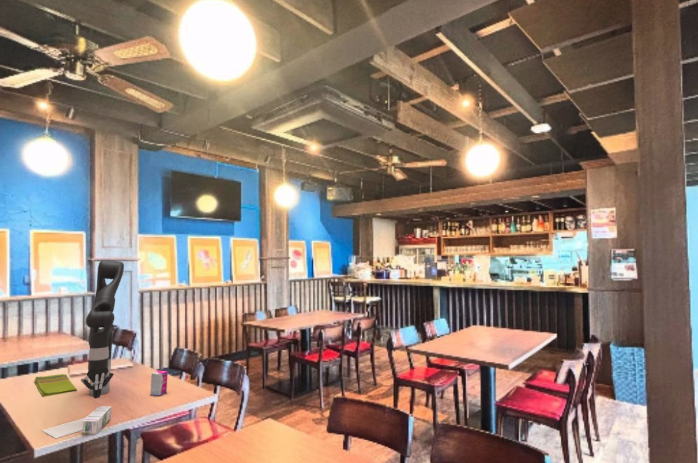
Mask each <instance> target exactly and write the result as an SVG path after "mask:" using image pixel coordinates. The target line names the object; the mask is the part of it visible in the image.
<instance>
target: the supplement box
mask: <svg viewBox="0 0 698 463" xmlns="http://www.w3.org/2000/svg"><path fill="white" fill-rule="evenodd" d="M168 374H169V373H168V370H167V371H166V370H156V371H154V372H151V375H150V376H151V379H150V390H149V392H150V393H149V394H150V396H151V397H160V396H163V395H165V394H167V390H168Z"/></svg>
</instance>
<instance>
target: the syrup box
mask: <svg viewBox="0 0 698 463" xmlns="http://www.w3.org/2000/svg"><path fill="white" fill-rule="evenodd" d="M111 414H112V406H97V407H96V408H95V409H94V410H93V411H92V412H91V413H90V414H89V415H87V416H86V417H84V418H85V419H84V420H83V428H82V431H81V435H97V434H98V433H99V432H100V431H101V430H102V429H103V427H104V426H106V424H107V423H108V422H109V421H111V417H112V415H111Z"/></svg>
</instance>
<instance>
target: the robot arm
mask: <svg viewBox="0 0 698 463" xmlns="http://www.w3.org/2000/svg"><path fill="white" fill-rule="evenodd" d="M124 270H125V264H124V262H123V261H120V260H110V259H101V260H100V261H99V263H98V266H97V274H96V276H97V277H96V288H95V289H96V290H95V296H94V301H93V306H92V308H91V310H90V311H89V312H88V314H87V316H86V319H85V325H86V326H87V327H88V328H90V329H89V335H88V346H89V351H88V359H87V360H88V362H87V373H86V375H85V377H84V378H81V379H80V382H81V383H82V384H83V385H84V386H85V387H87V389H88V391H89V392H88V393H89V395H91V396H92V397H93V399H100V397H101V396H102V395H104V394H108V393H109V392H110V390H111V389H110V388H111V379H112V378H113V376H114V373H112V372H111V369H112V368H111V367H112V348H113V340H114V331H113V329H112V327H113V324H114V321H115V314H114V313H113V312H114V310H115V305H116V293H117V291H118V289H119V286H120V284H121V281H122V278H123V275H124ZM106 280H112V281H110V282H109V283H108V284H107V282H106Z"/></svg>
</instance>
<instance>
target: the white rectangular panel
mask: <svg viewBox="0 0 698 463" xmlns="http://www.w3.org/2000/svg"><path fill="white" fill-rule="evenodd" d="M85 418H86V417H82V418H79V419H76V420H73V421H69V422H65V423H62V424H59V425H55V426H53V427H49V428H45V429H42V430H41V432H43V433H44V434H46V435H48V436H50V437H52V438H53V439H55V440H56V439H57V440H58V439H61V438H63V437H66V436H69V435H72V434H75V433H79V432H82V428H83V420H84V419H85Z"/></svg>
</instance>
